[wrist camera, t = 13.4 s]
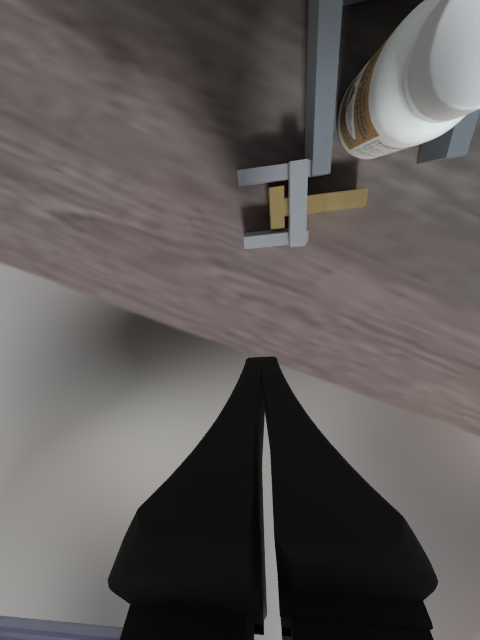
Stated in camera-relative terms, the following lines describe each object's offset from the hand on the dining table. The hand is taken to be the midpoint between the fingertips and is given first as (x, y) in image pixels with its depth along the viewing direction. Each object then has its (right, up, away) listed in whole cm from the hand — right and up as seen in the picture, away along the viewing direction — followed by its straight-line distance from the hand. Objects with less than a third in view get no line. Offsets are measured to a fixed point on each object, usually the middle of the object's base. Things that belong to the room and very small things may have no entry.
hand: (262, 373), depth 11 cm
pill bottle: (+7, +15, +3) cm, 17 cm away
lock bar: (+4, +11, +5) cm, 12 cm away
